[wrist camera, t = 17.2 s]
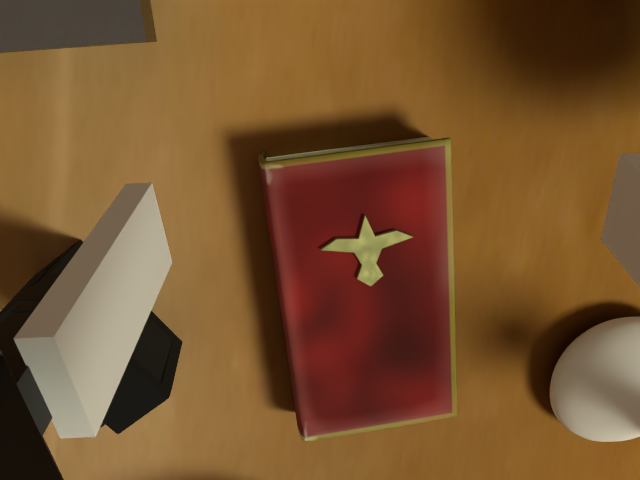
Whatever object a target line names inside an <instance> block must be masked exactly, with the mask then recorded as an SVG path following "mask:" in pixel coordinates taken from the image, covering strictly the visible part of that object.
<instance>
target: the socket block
mask: <svg viewBox="0 0 640 480" xmlns="http://www.w3.org/2000/svg"><path fill="white" fill-rule="evenodd" d="M156 41H157V40H156V34H155V28H154V22H153V16H152V10H151V3H150V0H0V53H4V52H18V51H32V50H46V49H59V48H73V47H87V46H101V45H115V44H128V43H142V42H156Z"/></svg>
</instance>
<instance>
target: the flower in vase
mask: <svg viewBox="0 0 640 480" xmlns="http://www.w3.org/2000/svg"><path fill="white" fill-rule="evenodd" d="M550 403H551V407H552V410H553V412H554V414H555V416H556V418H557V419H558V421H559V422H560V423H561V424H562V425H563V426H564V427H565V428H567V429H568V430H569V431H571V432H573V433H575V434H577V435H579V436H581V437H583V438H586V439H589V440H593V441H600V442H611V441H624V440H629V439H633V438H636V437H639V436H640V317H624V318H617V319H612V320H609V321H605V322H603V323H600V324H598V325H596V326H594V327H592V328H590V329H588V330H587V331H585V332H584V333H582V334H581V335H580V336H579V337H577V338H576V339H575V340H574V341H573V342H572V343H571V344H570V345H569V346H568V347H567V348H566V350H565V351H564V352H563V353H562V355H561V357H560V358H559V360H558V362H557V364H556V366H555V368H554V371H553V374H552V378H551V384H550Z"/></svg>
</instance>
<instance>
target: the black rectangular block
mask: <svg viewBox="0 0 640 480" xmlns="http://www.w3.org/2000/svg"><path fill="white" fill-rule="evenodd" d="M82 244H83V241H82V240H79V241H78V242H77V243H75V244H74V245H73V246H71V247H70V248H69V249H68V250H66V251H65V252H64V253H62V254H61V255H60V256H59V257H57V258H56V259H55V260H53V261H52V262H51V263H50V264H48V265H47V266H46V267H44V268H43V269H42V270H41V271H39V272H38V273H37V274H35V276H34V277H33V278H32V279H31V280H30V281H29V282H28V283H27V284H26V285H25V286H24V287H23V288H22V289H21V290H20V291H19V292H18V293H17V295H16V296H15V297H14V298H13V299H12V300H11V301H10V302H9V303H8V304H7V305H6V306H5V307H4V309H3V310H2V311H1V312H0V325H1V324H2V323H3V321H4V320H5V319H6V318H7V316H8V315H11V311H12V310H13V309H14V307H15V306H16V305H17V304H18V303H20V300H21V298H22V297H23V296H24V295H25V293H26V292H27V291H28V289H29V288H30V287H31V286H32V285H34V284H35V283H36V282H38V281H39V280H41V279H42V278H43V277H45V276H46V275H48V274H51V273H62V271H63V270H64V269H65V267H66V266H67V264H68V263H69V262H70V260H71V259H72V258H73V256H74V255H75V253H76V252H77V251H78V249H79V248H80V247H81V245H82ZM69 250H70V251H69ZM68 251H69V252H68ZM43 270H44V271H43ZM38 274H40V275H38ZM181 345H182V341H181V340H180V339H179V338H178V337H177V336H176V335H175V334H174V333H173V332H172V331H171V330H170V329H169V328H168V327H167V326H166V325H165V324H164V323H163V322H162V321H161V320H160V319H159V318H158V317H157V316H156V315H155V314H154V313H153V312H152V311H151V312H150V314H149V317H148V319H147V321H146V323H145V326H144V328H143V330H142V333H141V335H140V337H139V339H138V342H137V344H136V346H135V349H134V351H133V353H132V355H131V358H130V360H129V362H128V365H127V367H126V369H125V371H124V374H123V376H122V378H121V380H120V383H119V385H118V387H117V390H116V392H115V394H114V396H113V399H112V401H111V403H110V406H109V408H108V410H107V412H106V415H105V417H104V419H103V422H102V424H101V426H100V427H102V426H104V425H105V424H106V425H107V426H108V427H109V428H111V429H112V430H113V431H114V432H115V433H117V434H119V433H121V432H122V431H123V430H125V429H126V428H128V427H129V426H130V425H132V424H133V423H135V422H136V421H137V420H139V419H140V418H142V417H143V416H144V415H146V414H147V413H149V412H150V411H151V410H153V409H154V408H156V407H157V406H158V405H160V404H161V403H163V402H164V401H165V400H167V399H168V398H169V396H170V393H171V389H172V385H173V381H174V376H175V372H176V367H177V363H178V359H179V354H180V350H181Z"/></svg>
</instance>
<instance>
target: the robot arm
mask: <svg viewBox="0 0 640 480" xmlns="http://www.w3.org/2000/svg"><path fill="white" fill-rule="evenodd" d="M601 240H602V242H603V243H604V244H605V245H606V247H607V248H608V249H609V250H610V251H611V253H612V254H613V255H614V256H615V258H616V259H617V260H618V261H619V262H620V264H621V265H622V266H623V267H624V269H625V270H626V271H627V272H628V273H629V275H630V276H631V277H632V278H633V280H634V281H635V282H636V283H637V285H638V286H639V287H640V153H631V154H620V156H619V160H618V165H617V169H616V174H615V178H614V183H613V187H612V192H611V196H610V201H609V205H608V210H607V214H606V219H605V223H604V228H603V232H602V237H601ZM171 264H172V260H171V256H170V252H169V248H168V244H167V240H166V236H165V232H164V228H163V224H162V220H161V216H160V212H159V208H158V204H157V200H156V196H155V192H154V188H153V184H152V183H136V184H126V185H125V186H124V188H123V189H122V190H121V192H120V193H119V194H118V196H117V197H116V199H115V200H114V201H113V203H112V204H111V205H110V207H109V208H108V210H107V211H106V212H105V214H104V215H103V216H102V218H101V219H100V220H99V222H98V223H97V225H96V226H95V227H94V229H93V230H92V231H91V233H90V234H89V236H88V237H87V238H86V240H85V241H84V242H83V244H82V245H81V247H80V248H79V249H78V251H77V252H76V253H75V255H74V256H73V258H72V259H71V260H70V262H69V263H68V264H67V266H66V267H65V269H64V270H63V271H62V273H51V274H48V275H46V276H45V277H43V278H42V279H41V280H39V281H38V282H36V283H35V284H34V285H32V286H31V287H30V288H29V289H28V291H27V292H26V293H25V295H24V296H23V297H22V298H21V300H20V303H18V304H17V305H16V306H15V307H14V309H13V310H12V311H11V315H8V316H7V318H6V319H5V320H4V321H3V323H2V324H1V325H0V480H64V479H63V477H62V475H61V473H60V471H59V469H58V467H57V465H56V463H55V460H54V458H53V456H52V454H51V452H50V450H49V448H48V446H47V444H46V442H45V440H44V438H43V434H44V432H45V430H46V428H47V426H48V425H49V423H50V421H51V420H52V422H53V424H54V426H55V428H56V430H57V432H58V435H59V437H60V438H82V437H96V435H97V433H98V431H99V428H100V426H101V424H102V422H103V419H104V417H105V415H106V412H107V410H108V408H109V406H110V403H111V401H112V399H113V396H114V394H115V392H116V390H117V387H118V385H119V383H120V380H121V378H122V376H123V374H124V371H125V369H126V367H127V365H128V362H129V360H130V358H131V355H132V353H133V351H134V349H135V346H136V344H137V342H138V339H139V337H140V335H141V333H142V330H143V328H144V326H145V323H146V321H147V319H148V317H149V314H150V312H151V310H152V308H153V305H154V303H155V301H156V298H157V296H158V294H159V292H160V289H161V287H162V285H163V282H164V280H165V278H166V276H167V273H168V271H169V269H170V266H171Z"/></svg>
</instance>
